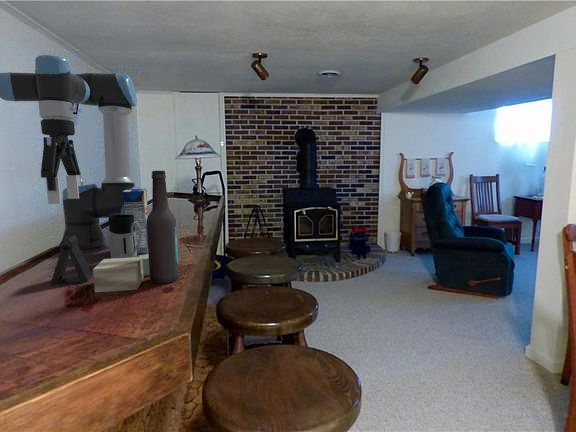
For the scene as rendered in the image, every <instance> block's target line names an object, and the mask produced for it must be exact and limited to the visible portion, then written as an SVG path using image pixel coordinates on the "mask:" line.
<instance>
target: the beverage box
mask: <svg viewBox="0 0 576 432" xmlns="http://www.w3.org/2000/svg"><path fill="white" fill-rule="evenodd" d="M122 193H123V207H124V214H129V215H134V222H137V223H139V225H140V227H141V242H140V245H139V247H138V248H137V255H146V253H147V254H148V240H147V218H148V216H149V209H148V193H147V188H139V189H126V190H124V191H123V192H122ZM134 225H135V231H136V246H137V244H138V240H139V228H138V226H137V224H134Z"/></svg>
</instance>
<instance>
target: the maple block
mask: <svg viewBox="0 0 576 432" xmlns="http://www.w3.org/2000/svg"><path fill="white" fill-rule="evenodd" d="M92 272H93V273H92V276H93V285H94V293H105V292H106V293H108V292H121V291H122V292H123V291H134V290H136V291H137V290H138V288H139V287H140V285H141V283H142V281H143V279H144V276H143V261H142V257H139V256H137V257H132V258H113V259H111V258H103V259H102V260H101V261H100V262H99V263H98V264H97V265H96V266H95V267H93V269H92Z"/></svg>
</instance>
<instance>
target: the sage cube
mask: <svg viewBox="0 0 576 432" xmlns="http://www.w3.org/2000/svg"><path fill="white" fill-rule="evenodd" d="M138 257H142V261H143V277H144V276H150V273H149V257H148V253H147V254H138Z"/></svg>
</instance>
